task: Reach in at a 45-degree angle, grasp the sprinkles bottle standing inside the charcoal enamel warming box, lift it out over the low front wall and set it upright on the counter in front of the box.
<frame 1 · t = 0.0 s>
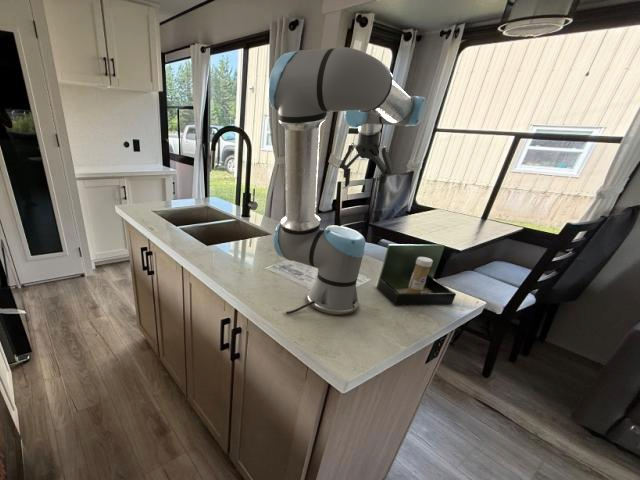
hand: (363, 187, 131), 28 cm above the countertop, tool tilted 20°, fingers open, 13 cm apart
warming box: (412, 296, 110), on the countertop
sprinkles bottle: (412, 296, 110), resting in warming box
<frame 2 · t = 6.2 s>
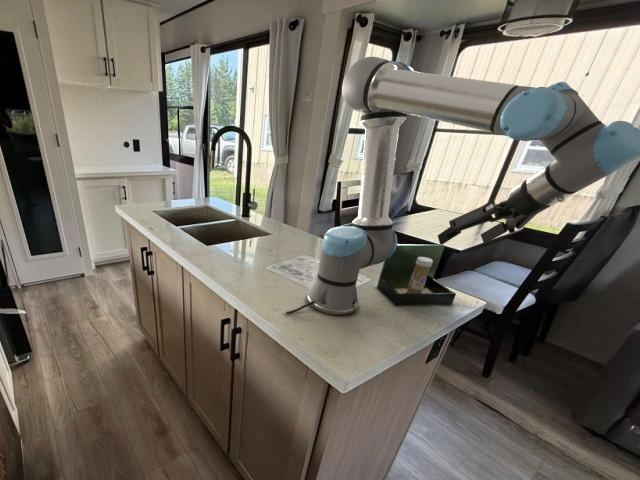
hand: (461, 239, 89), 23 cm above the countertop, tool tilted 45°, fingers open, 13 cm apart
nothing on the countertop moved.
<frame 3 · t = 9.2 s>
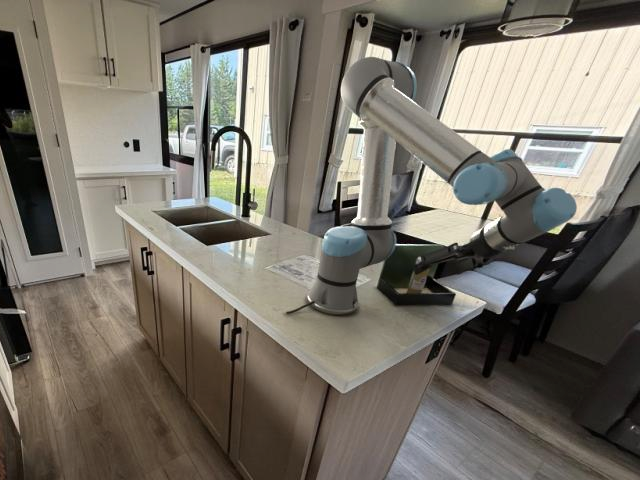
hand: (436, 270, 99), 12 cm above the countertop, tool tilted 45°, fingers open, 13 cm apart
nothing on the countertop moved.
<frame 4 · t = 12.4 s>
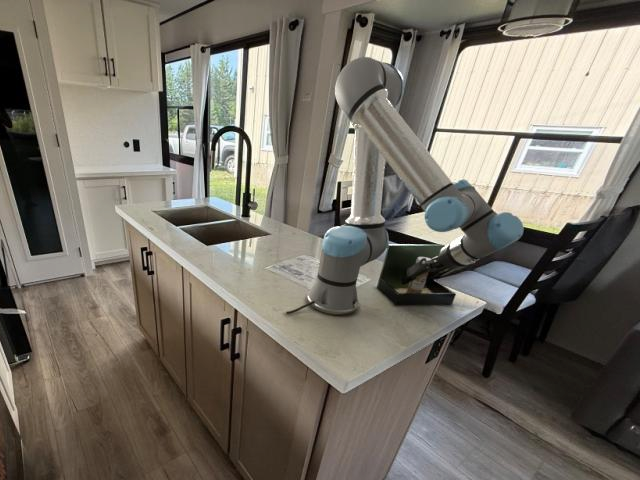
hand: (409, 281, 111), 4 cm above the countertop, tool tilted 45°, fingers closed on sprinkles bottle, 4 cm apart
sprinkles bottle: (412, 296, 110), resting in warming box, touching gripper
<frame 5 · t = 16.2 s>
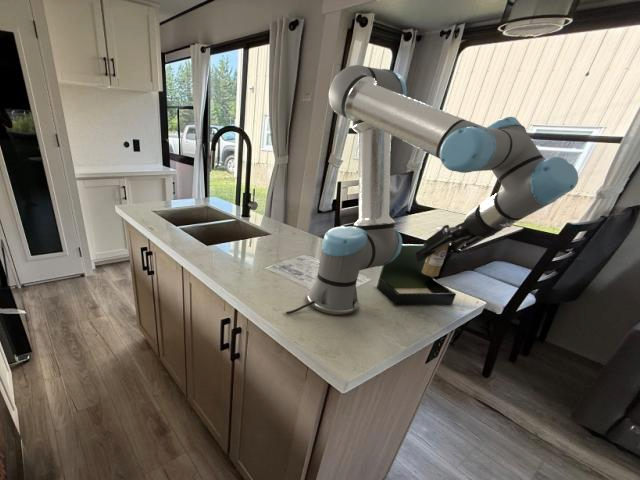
hand: (425, 257, 97), 16 cm above the countertop, tool tilted 45°, fingers closed on sprinkles bottle, 4 cm apart
sprinkles bottle: (429, 274, 95), point 12 cm above the countertop, touching gripper
when the fingers open (4 cm above the countertop, at t = 20.3 s): sprinkles bottle stays where it is, on the countertop.
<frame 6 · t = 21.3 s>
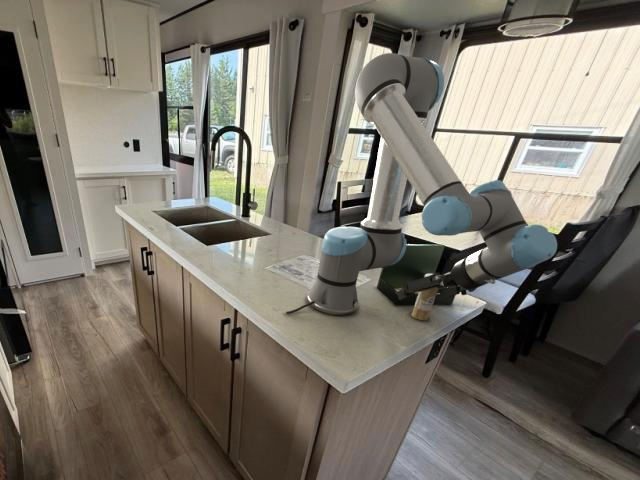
hand: (420, 295, 97), 6 cm above the countertop, tool tilted 45°, fingers open, 13 cm apart
sprinkles bottle: (418, 317, 98), on the countertop
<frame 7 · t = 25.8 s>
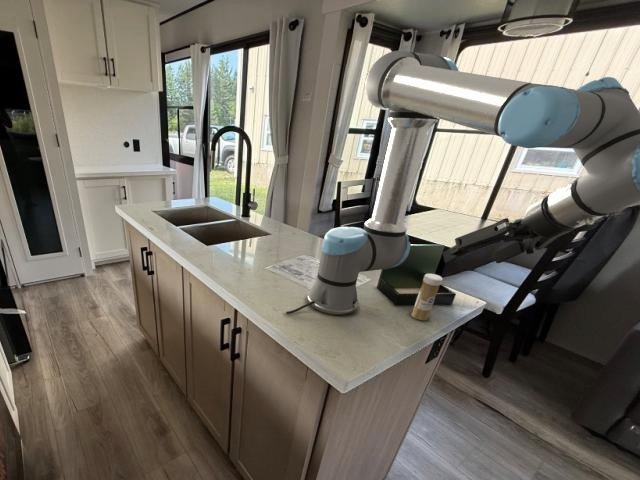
hand: (470, 258, 79), 23 cm above the countertop, tool tilted 45°, fingers open, 13 cm apart
nothing on the countertop moved.
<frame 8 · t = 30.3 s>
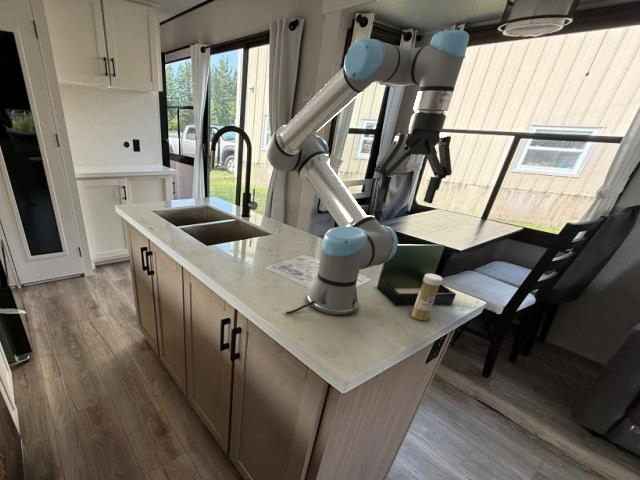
hand: (404, 202, 89), 32 cm above the countertop, tool pointing down, fingers open, 13 cm apart
nothing on the countertop moved.
at the end: sprinkles bottle inside the target area (0.2 cm from its centre), on the countertop; sprinkles bottle tilted 0°; sprinkles bottle touching countertop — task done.
